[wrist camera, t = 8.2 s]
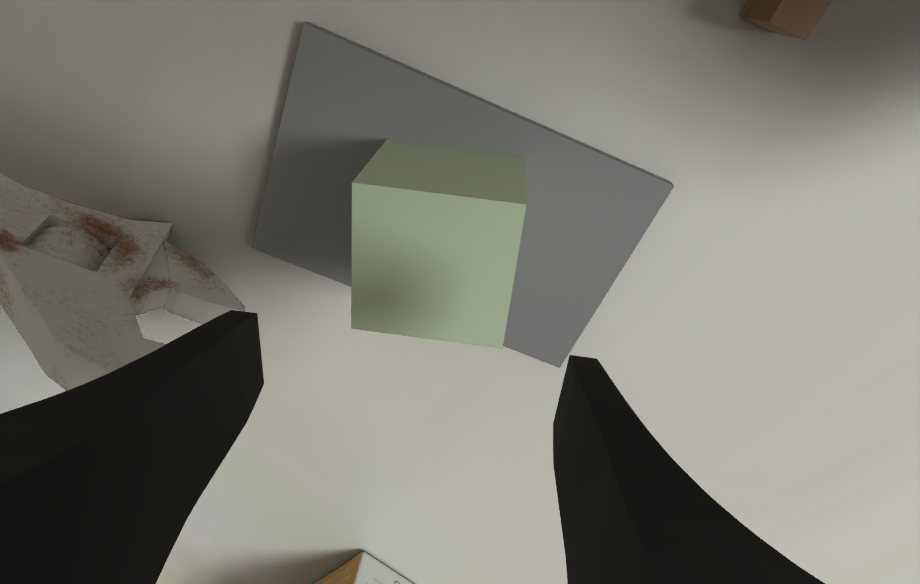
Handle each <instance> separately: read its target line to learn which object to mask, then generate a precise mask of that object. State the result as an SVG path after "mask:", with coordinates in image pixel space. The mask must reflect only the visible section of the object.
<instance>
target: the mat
mask: <svg viewBox="0 0 920 584" xmlns="http://www.w3.org/2000/svg"><path fill="white" fill-rule="evenodd" d="M387 139H394V140H402V141H410V142H418V143H426V144H434V145H442V146H450V147H458V148H466V149H475V150H483V151H491V152H499V153H507V154H515V155H523V156H525V177H526V211H525V217H524V223H523V229H522V234H521V240H520V246H519V252H518V258H517V264H516V270H515V276H514V282H513V288H512V294H511V300H510V306H509V312H508V318H507V324H506V330H505V336H504V342H503V346H505V347H508V348H510V349H513V350H515V351H518V352H520V353H523V354H526V355H528V356H531V357H533V358H536V359H538V360H541V361H544V362H546V363H549V364H551V365H554V366H556V367H559V368H560V367H561V365H562V363H563V362H564V360H565V359H566V357H567V355H568V354H569V352H570V351H571V349H572V347H573V346H574V344H575V343H576V341H577V340H578V338H579V336H580V335H581V333H582V332H583V330H584V328H585V327H586V325H587V324H588V322H589V321H590V319H591V317H592V316H593V314H594V313H595V311H596V309H597V308H598V306H599V305H600V303H601V301H602V300H603V298H604V297H605V295H606V294H607V292H608V290H609V289H610V287H611V286H612V284H613V282H614V281H615V279H616V278H617V276H618V274H619V273H620V271H621V270H622V268H623V267H624V265H625V263H626V262H627V260H628V259H629V257H630V255H631V254H632V252H633V251H634V249H635V247H636V246H637V244H638V243H639V241H640V240H641V238H642V236H643V235H644V233H645V232H646V230H647V228H648V227H649V225H650V224H651V222H652V221H653V219H654V217H655V216H656V214H657V213H658V211H659V209H660V208H661V206H662V205H663V203H664V201H665V200H666V198H667V197H668V195H669V194H670V192H671V190H672V189H673V187H674V185H673V184H672V183H671V182H670V181H668V180H666V179H663V178H661V177H659V176H657V175H654V174H652V173H650V172H647V171H645V170H643V169H641V168H638V167H636V166H634V165H632V164H629V163H627V162H625V161H622V160H620V159H618V158H616V157H613V156H611V155H609V154H607V153H604V152H602V151H600V150H597V149H595V148H593V147H591V146H588V145H586V144H584V143H582V142H579V141H577V140H575V139H573V138H570V137H568V136H566V135H563V134H561V133H559V132H557V131H554V130H552V129H550V128H548V127H545V126H543V125H541V124H538V123H536V122H534V121H532V120H529V119H527V118H525V117H523V116H520V115H518V114H516V113H514V112H511V111H509V110H507V109H504V108H502V107H500V106H498V105H495V104H493V103H491V102H489V101H486V100H484V99H482V98H479V97H477V96H475V95H473V94H470V93H468V92H466V91H464V90H461V89H459V88H457V87H455V86H452V85H450V84H448V83H445V82H443V81H441V80H439V79H436V78H434V77H432V76H430V75H427V74H425V73H423V72H420V71H418V70H416V69H414V68H411V67H409V66H407V65H405V64H402V63H400V62H398V61H396V60H393V59H391V58H389V57H386V56H384V55H382V54H380V53H377V52H375V51H373V50H371V49H368V48H366V47H364V46H361V45H359V44H357V43H355V42H352V41H350V40H348V39H346V38H343V37H341V36H339V35H337V34H334V33H332V32H330V31H327V30H325V29H323V28H321V27H318V26H316V25H314V24H312V23H309V22H307V23H303V28H302V32H301V36H300V41H299V45H298V49H297V53H296V58H295V62H294V66H293V71H292V75H291V79H290V83H289V88H288V92H287V96H286V101H285V105H284V109H283V114H282V118H281V122H280V126H279V131H278V135H277V139H276V144H275V148H274V152H273V157H272V161H271V165H270V169H269V174H268V178H267V182H266V187H265V191H264V195H263V200H262V204H261V208H260V212H259V217H258V221H257V225H256V230H255V234H254V238H253V242H252V247H251V248H254V249H256V250H259V251H261V252H264V253H266V254H269V255H272V256H274V257H277V258H279V259H282V260H284V261H287V262H290V263H292V264H295V265H297V266H300V267H302V268H305V269H307V270H310V271H313V272H315V273H318V274H320V275H323V276H325V277H328V278H331V279H333V280H336V281H338V282H341V283H343V284H346V285H349V286H351V287H352V182H353V181H354V179H355V178H356V177H357V176H358V174H359V173H360V172H361V171H362V170H363V168H364V167H365V166H366V165H367V163H368V162H369V161H370V160H371V158H372V157H373V156H374V155H375V153H376V152H377V151H378V150H379V149H380V147H381V146H382V145H383V144H384V142H385V141H386V140H387Z"/></svg>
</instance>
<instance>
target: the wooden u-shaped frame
mask: <svg viewBox="0 0 920 584" xmlns="http://www.w3.org/2000/svg"><path fill="white" fill-rule="evenodd" d="M831 1H832V0H748V2H747V3H746V5H745V7H744V9H743V10H742V12H741V14H740V15H739V17H740V18H742V19H744V20H747V21H749V22H751V23H753V24H755V25H757V26H759V27H761V28H763V29H765V30H767V31H769V32H772V33H776V34H781V35H785V36H790V37H794V38H799V39H804V40H806V39H807V37H808V36H809V34H810V33H811V31H812V30H813V28H814V27H815V25H816V24H817V22H818V21H819V19H820V18H821V16H822V15H823V13H824V12H825V10H826V9H827V7H828V6H829V4H830V3H831Z"/></svg>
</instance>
